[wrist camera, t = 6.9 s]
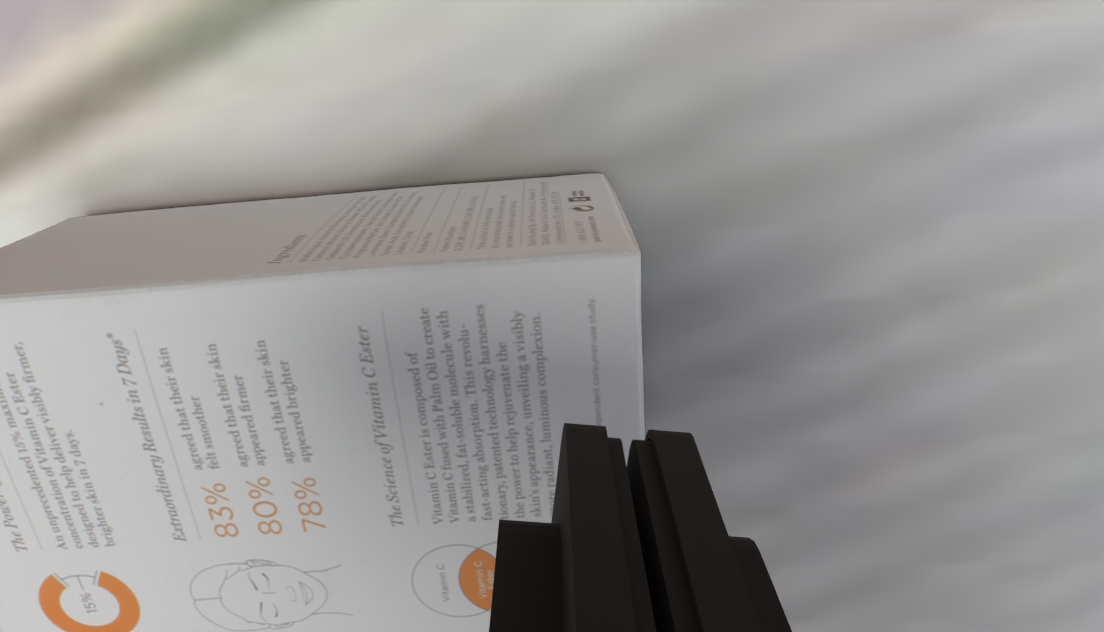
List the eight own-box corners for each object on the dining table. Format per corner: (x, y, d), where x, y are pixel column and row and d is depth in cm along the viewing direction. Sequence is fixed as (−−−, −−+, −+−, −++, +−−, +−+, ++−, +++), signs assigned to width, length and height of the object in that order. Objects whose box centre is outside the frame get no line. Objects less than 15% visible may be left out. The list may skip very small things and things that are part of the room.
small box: (610, 168, 17) (66, 208, 17) (649, 246, 11) (-175, 306, 11) (621, 457, 20) (159, 489, 20) (656, 636, 14) (8, 680, 15)
